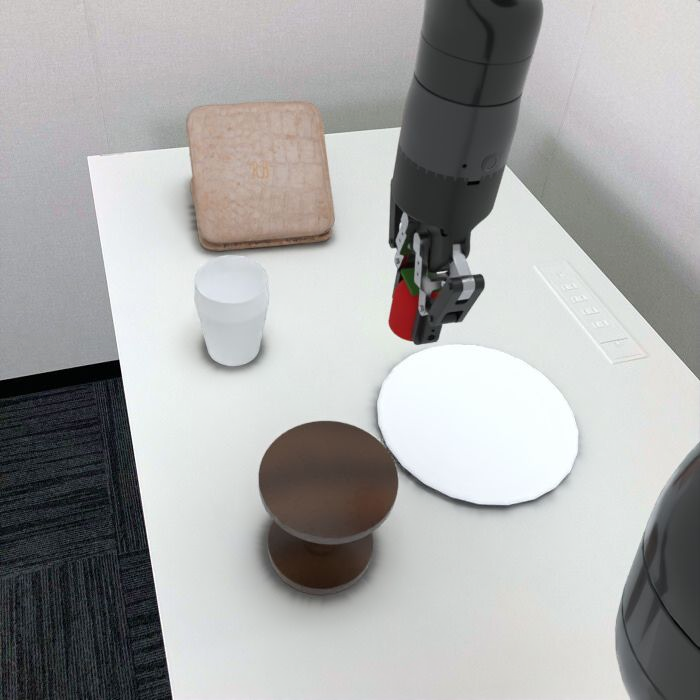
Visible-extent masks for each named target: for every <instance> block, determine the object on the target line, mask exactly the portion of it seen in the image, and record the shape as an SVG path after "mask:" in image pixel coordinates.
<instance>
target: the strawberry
mask: <svg viewBox="0 0 700 700" xmlns="http://www.w3.org/2000/svg"><path fill="white" fill-rule="evenodd" d="M414 274H415V268H408V269H401V275H402V277H403V280H402V281H401V282H400V283H399V284H398V285H397V287H396V289H395V291H394V294H393V293H392V294H393V299H392V298H391V305H390V311H389V315H388V320H387V321H388V322H387V323H388V327H389V329H390V331H391V332H392V333H393V334H394V335H396V336H397V337H398V338H400V339H402V340H404V341H408V342H413V340H412V338H411V333H412V329H413V324H414V320H415V316H416V311H417V308H418V304H419V289H420V288H419V287H418V286H417V285H416V284H415V282H414ZM431 274H438V272H435V273H431V272H428V271H427V275H431ZM440 291H441V289H437V290H433V291H432V293H431V299H434V298H437V296H438V294H439V293H440ZM413 343H414V342H413Z"/></svg>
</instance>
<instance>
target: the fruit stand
mask: <svg viewBox="0 0 700 700" xmlns="http://www.w3.org/2000/svg"><path fill="white" fill-rule="evenodd" d="M388 450H389V449H388V448H386V446H384V444H383V443H382V442H381V441H380V440H379V439H378V438H376V437H375V436H374V435H373V434H371V433H370V432H368V431H366V430H364V429H362V428H360V427H358V426H356V425H354V424H350V423H347V422H343V421H336V420H315V421H310V422H305V423H302V424H299V425H296V426H294V427H291V428H290V429H288V430H286V431H284V432H283V433H281V434H280V435H278V436H277V437H276V438H275V439H274V440H273V441H272V442H271V444H269V446H268V447H267V449H266V450H265V452H264V454H263V456H262V459H261V461H260V464H259V469H258V493H259V497H260V500H261V503H262V504H263V507H264V509H265V511H266V512H267V514H268V515H269V517H270V518H271V519H272V522H271V524H270V526H269V530H268V534H267V553H268V559H269V562H270V564H271V566H272V568H273V570H274V571H275V573H276V574H277V576H278V577H279V578H280V579H281V580H282V581H283V582H285V583H286V584H287V585H288V586H290V587H292V588H293V589H295V590H297V591H299V592H302V593H305V594H309V595H317V596H318V595H319V596H327V595H333V594H336V593H339V592H342V591H344V590H347V589H349V588H350V587H353V585H355V584H356V583H357V582H358V581H359V580H360V579H361V578H362V577H363V576H364V574H365V573H366V571H367V569H368V568H369V566H370V563H371V560H372V556H373V549H374V537H373V533H374V531H376V530H377V529H379V528H380V527H381V526H382V525H383V524H384V523H385V522H386V520H387V519H388V517H389V516H390V514H391V512H392V511H393V509H394V507H395V503H396V500H397V496H398V491H399V475H398V474H399V473H398V470H397V469H398V468H397V466H396V463H395V461H394V459H393V457H392V455H391V452H390V451H388Z"/></svg>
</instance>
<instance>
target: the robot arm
mask: <svg viewBox="0 0 700 700" xmlns="http://www.w3.org/2000/svg"><path fill="white" fill-rule="evenodd" d="M697 1H698V2H700V0H697ZM543 18H544V2H543V0H424V5H423V15H422V22H421V28H420V33H419V39H418V46H417V50H416V57H415V63H414V69H413V74H412V77H411V82H410V85H409V88H408V91H407V95H406V98H405V101H404V107H403V112H402V119H401V124H400V131H399V137H398V143H397V149H396V155H395V163H394V167H393V172H392V174H393V175H392V177H391V179H390V184H389V185H390V189H389V192H390V193H389V217H388V218H389V220H388V221H389V222H388V245H389V247H390V249H392V250H393V249H395V250H396V252H395V255H394V261H393V262H394V265H395V267H396V273H395V274H396V275H395V280H394V284H393V290H392V294H391V300H392V299H393V294H394V291H395V289H396V287H397V285H398V284H399V283H400V282H401V281H402V280H403V277H402V275H401V269H408V268H415V274H414V282H415V284H416V285H417V286H418V287H419V288H420V289H419V304H418V308H417V311H416V316H415V320H414V324H413V329H412V333H411V338H412V340H413V344H414V345H415V346H420V345H421V346H422V345H426V344H427V345H428V344H434V343H437V342H438V341H439V339H440V335H441V331H442V328H443V325H446V324H453V323H455V324H458V323H462V322H463V321H464V320H465V318H466V317H467V315H468V313H469V312H470V310H471V309H472V308H473V306H474V305H475V303H476V302H477V300H478V299H479V297H480V296H481V294H482V293H483V292H484V290H485V287H486V281H485V277H484V275H483V274H482V273H477V274H472V272H471V269H470V267H469V264H468V261H467V259H468V257H470V256H469V255H470V254H471V253H470V252H471V238H472V237H471V235H472V231H473V230H474V229H475V228H476V227H477V226H478V225H479V224H480V223H481V222H483V221H484V220H485V219H486V218H487V217H488V216H490V214H491V213H492V211H493V209H494V207H495V203H496V200H497V197H498V193H499V189H500V186H501V183H502V180H503V175H504V172H505V168H506V165H507V162H508V159H509V155H510V151H511V148H512V144H513V141H514V138H515V134H516V131H517V127H518V123H519V117H520V108H521V102H522V97H523V92H524V90H525V89H524V88H525V86H526V81H527V80H528V79H527V78H528V75H529V71H530V68H531V64H532V61H533V58H534V54H535V50H536V46H537V43H538V40H539V37H540V33H541V29H542V23H543ZM400 224H401V225H400ZM427 271H428V272H431V273H435V272H437V274H431V275H427ZM437 289H441V291H440V293H439V294H438V296H437V298H434V299H431V293H432V291H433V290H437ZM614 643H615V646H614V647H615V657H616V661H617V665H618V670H619V673H620V677H621V681H622V683H623V687H624V689H625V691H626V694H627V696H628V699H629V700H700V441H699V442H698V443H697V444H696V445H695V446H693V448H692V449H691V451H689V452H688V454H687V455H686V456H685V457H684V459H683V460H682V461H681V462H680V463H679V465H678V466H677V468H676V469H675V470H674V471H673V473H672V474H671V475H670V477H669V478H668V480H667V481H666V483H665V484H664V485H663V488H662V489H661V491H660V493H659V495H658V497H657V499H656V502H655V503H654V505H653V508H652V510H651V512H650V515H649V517H648V519H647V522H646V526H645V529H644V532H643V533H642V537H641V539H640V542H639V545H638V548H637V551H636V553H635V556H634V558H633V561H632V564H631V567H630V570H629V572H628V575H627V578H626V581H625V583H624V585H623V589H622V594H621V598H620V602H619V605H618V609H617V614H616V617H615V625H614Z"/></svg>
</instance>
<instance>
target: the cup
mask: <svg viewBox="0 0 700 700" xmlns="http://www.w3.org/2000/svg"><path fill="white" fill-rule="evenodd" d="M193 277H194V278H193V281H194V282H193V283H194V284H193V285H194V286H193V287H194V294H193V299H194V305H195V309H196V313H197V316H198V320H199V324H200V327H201V330H202V334H203V338H204V342H205V345H206V348H207V352H208V355H209V356H210V357H211V359H212V360H213V361H214V362H216V363H218V364H220V365H223V366H226V367H240V366H243V365H246V364H249V363H250V362H252V361H253V360H254V359H256V357H257V356H258V354H259V352H260V347H261V343H262V338H263V332H264V329H265V323H266V318H267V313H268V309H269V304H270V288H269V275H268V272H267V271H266V269H265V267H264V266H263V265H261V264H260V263H259V262H258V261H256V260H255V259H252V258H250V257H247V256H242V255H236V254H234V255H232V254H228V255H220V256H216V257H213V258H210V259H208V260H207V261H205V262H204V263H202V264H201V265H200V266H199V267H198V268H197V269H196V271H195V274H194V276H193Z"/></svg>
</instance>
